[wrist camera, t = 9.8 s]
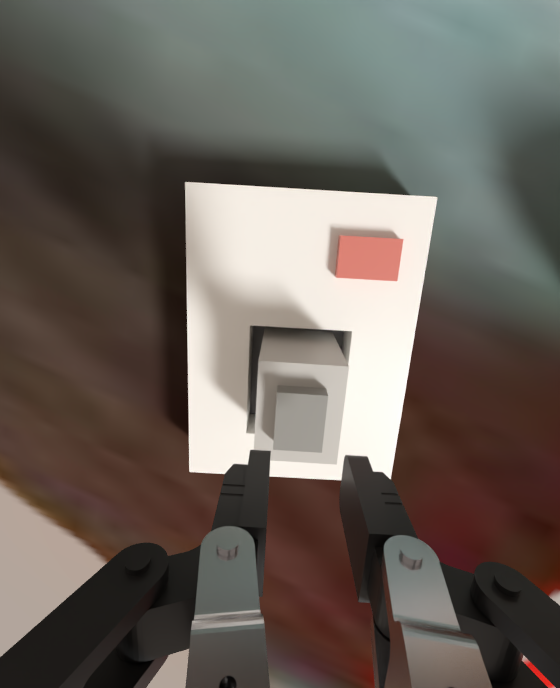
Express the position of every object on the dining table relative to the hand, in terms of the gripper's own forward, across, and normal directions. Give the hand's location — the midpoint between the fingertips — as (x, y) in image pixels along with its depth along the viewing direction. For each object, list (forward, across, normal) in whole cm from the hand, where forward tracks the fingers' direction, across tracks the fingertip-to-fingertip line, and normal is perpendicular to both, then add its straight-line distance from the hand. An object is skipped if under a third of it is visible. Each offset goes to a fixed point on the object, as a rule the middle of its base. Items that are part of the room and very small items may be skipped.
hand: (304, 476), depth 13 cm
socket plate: (+11, 0, -2) cm, 11 cm away
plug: (+10, 0, 0) cm, 10 cm away
